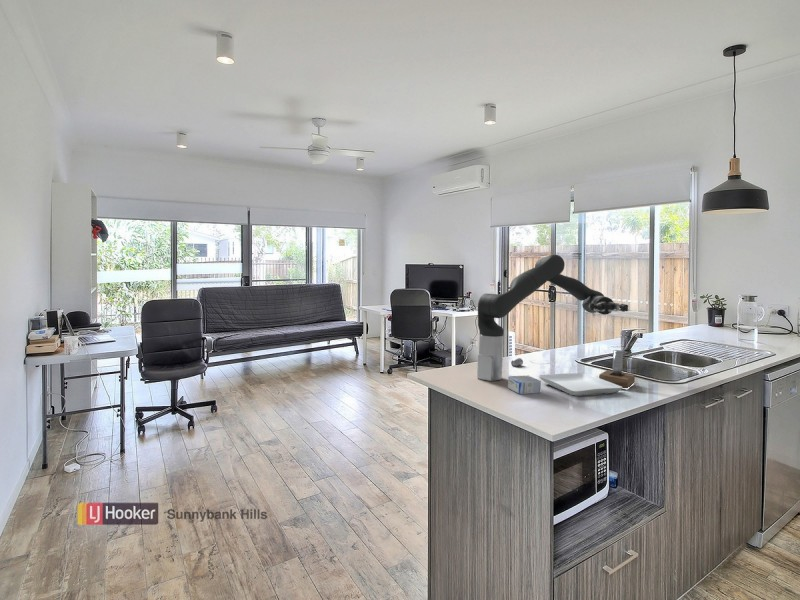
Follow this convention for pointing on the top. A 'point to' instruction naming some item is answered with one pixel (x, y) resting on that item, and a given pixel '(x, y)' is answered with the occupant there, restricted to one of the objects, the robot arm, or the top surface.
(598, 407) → the top surface
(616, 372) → the tall pin
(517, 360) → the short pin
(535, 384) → the medicine box
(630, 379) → the hole block
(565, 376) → the salad plate
